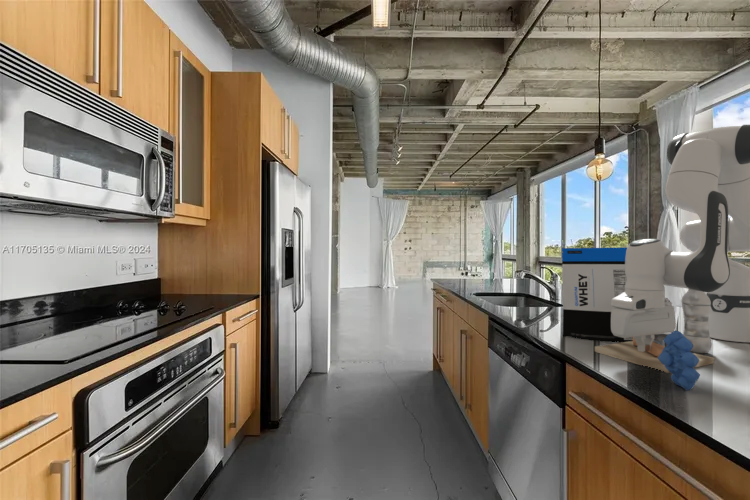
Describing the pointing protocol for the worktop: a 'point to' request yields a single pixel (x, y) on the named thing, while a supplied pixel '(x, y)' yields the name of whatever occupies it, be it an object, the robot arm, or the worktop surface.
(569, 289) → the protein powder
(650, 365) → the board
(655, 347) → the link
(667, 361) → the grapes
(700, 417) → the worktop surface
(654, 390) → the worktop surface
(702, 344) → the plastic bottle
